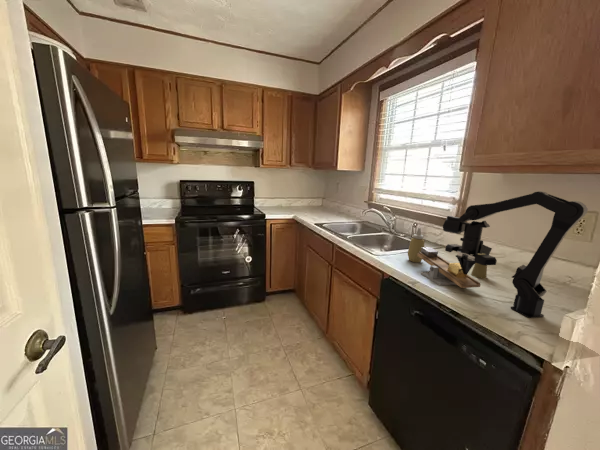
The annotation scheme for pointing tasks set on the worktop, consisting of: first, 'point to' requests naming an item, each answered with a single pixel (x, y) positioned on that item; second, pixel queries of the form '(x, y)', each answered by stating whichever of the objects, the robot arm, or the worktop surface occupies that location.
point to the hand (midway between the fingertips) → (465, 274)
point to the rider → (456, 270)
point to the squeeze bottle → (416, 246)
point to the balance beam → (443, 267)
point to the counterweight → (429, 252)
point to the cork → (479, 270)
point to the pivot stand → (437, 276)
